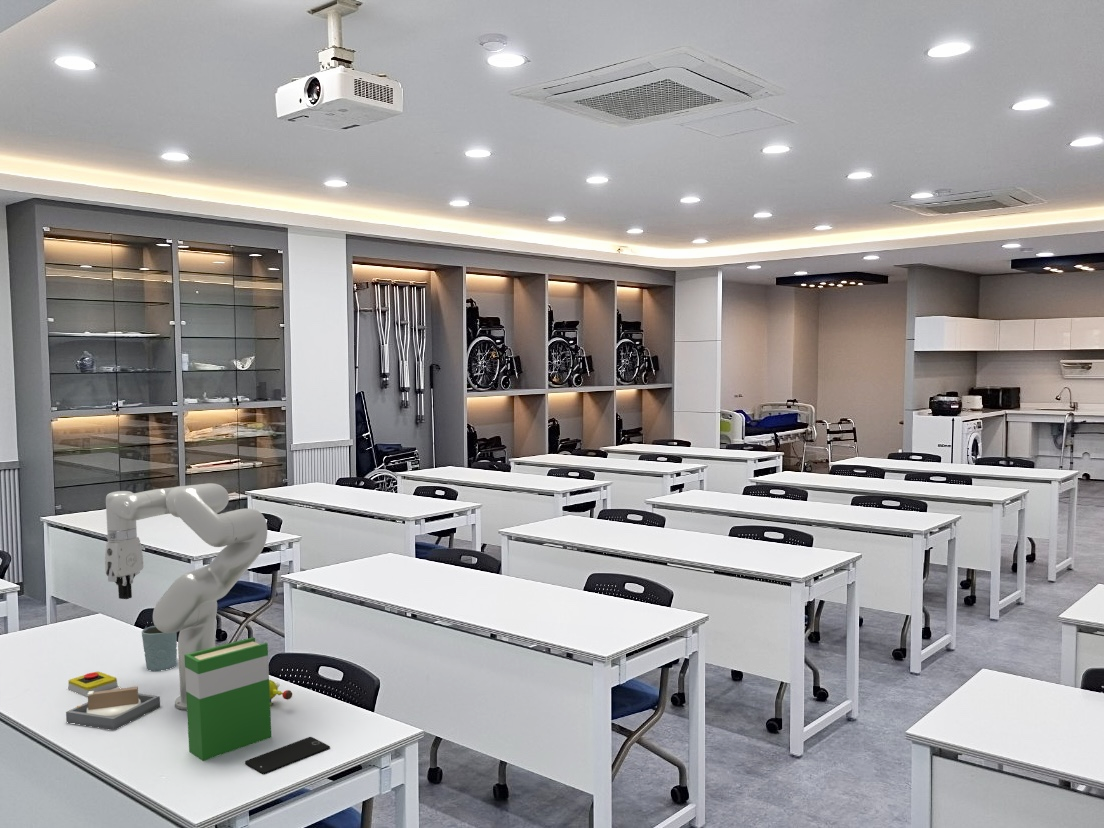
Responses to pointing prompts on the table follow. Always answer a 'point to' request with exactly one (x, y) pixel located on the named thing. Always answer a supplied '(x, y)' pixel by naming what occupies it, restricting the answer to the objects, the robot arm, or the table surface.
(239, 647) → the hardback book
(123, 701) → the dial
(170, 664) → the teal cup
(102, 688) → the emergency button
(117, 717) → the dial housing
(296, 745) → the cell phone
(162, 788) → the table surface
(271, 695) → the toy figure
